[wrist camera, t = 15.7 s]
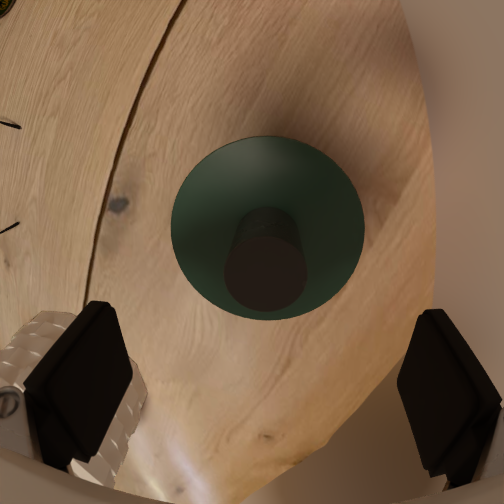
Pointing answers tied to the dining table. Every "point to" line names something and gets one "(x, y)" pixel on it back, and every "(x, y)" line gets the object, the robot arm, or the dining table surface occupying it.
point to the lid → (267, 228)
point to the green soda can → (5, 6)
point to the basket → (127, 415)
